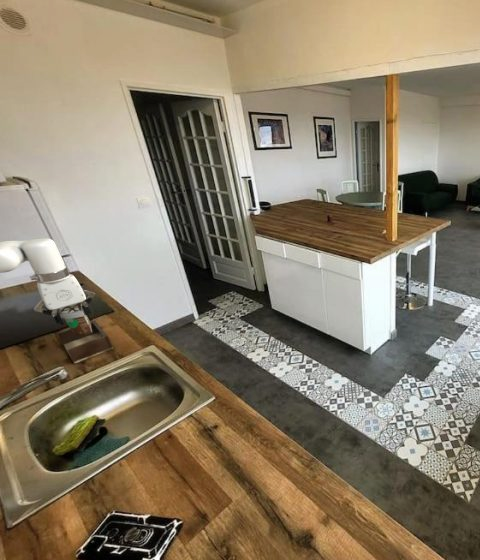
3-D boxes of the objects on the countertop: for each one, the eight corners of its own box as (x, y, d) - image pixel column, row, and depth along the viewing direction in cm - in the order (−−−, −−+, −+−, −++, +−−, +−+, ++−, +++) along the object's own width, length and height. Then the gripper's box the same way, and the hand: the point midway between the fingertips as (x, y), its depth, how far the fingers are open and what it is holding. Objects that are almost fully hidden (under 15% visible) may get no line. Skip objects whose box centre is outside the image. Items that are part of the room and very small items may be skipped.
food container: (68, 327, 117) (56, 304, 113) (89, 321, 121) (79, 298, 116) (69, 341, 109) (56, 317, 105) (92, 334, 113) (81, 311, 109)
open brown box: (74, 363, 109) (67, 350, 107) (63, 345, 119) (57, 332, 116) (113, 348, 117) (107, 336, 115) (100, 332, 127) (95, 320, 124)
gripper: (17, 286, 97) (43, 334, 104) (89, 270, 109) (108, 313, 117) (14, 280, 101) (39, 326, 109) (84, 264, 113) (102, 307, 121)
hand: (74, 319), depth 113 cm, fingers closed on food container, 6 cm apart
